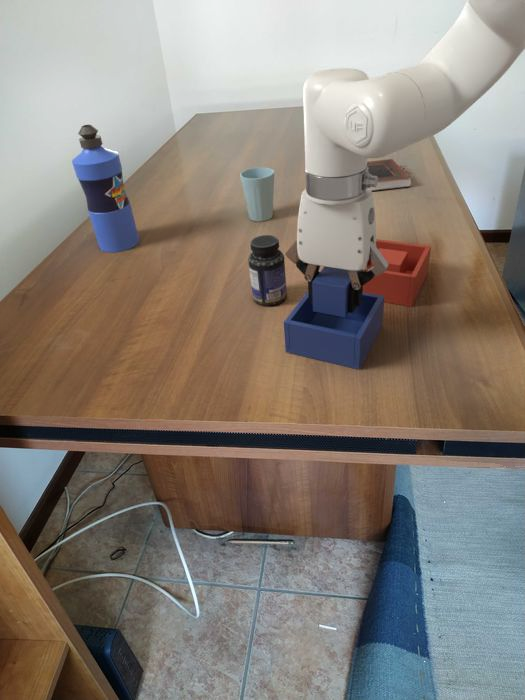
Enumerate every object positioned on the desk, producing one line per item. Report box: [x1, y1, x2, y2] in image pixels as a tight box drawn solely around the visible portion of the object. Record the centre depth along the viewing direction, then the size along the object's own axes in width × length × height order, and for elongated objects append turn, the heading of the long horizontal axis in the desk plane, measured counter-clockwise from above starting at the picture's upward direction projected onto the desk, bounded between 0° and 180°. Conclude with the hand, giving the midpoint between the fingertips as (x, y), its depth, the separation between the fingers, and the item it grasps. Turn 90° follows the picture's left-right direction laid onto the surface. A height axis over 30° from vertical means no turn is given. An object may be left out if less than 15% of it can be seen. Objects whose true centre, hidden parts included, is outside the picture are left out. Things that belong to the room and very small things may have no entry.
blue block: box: [312, 266, 351, 318], centre depth 72 cm, size 5×5×5 cm
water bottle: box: [71, 124, 140, 253], centre depth 105 cm, size 9×9×25 cm
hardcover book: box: [367, 158, 412, 192], centre depth 130 cm, size 16×2×22 cm
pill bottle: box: [247, 234, 288, 307], centre depth 85 cm, size 6×6×11 cm
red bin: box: [363, 238, 432, 308], centre depth 87 cm, size 12×12×6 cm
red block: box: [371, 248, 408, 274], centre depth 87 cm, size 5×5×5 cm
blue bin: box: [283, 291, 385, 370], centre depth 76 cm, size 12×12×6 cm
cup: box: [239, 166, 275, 223], centre depth 114 cm, size 8×8×10 cm
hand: (334, 303), depth 73 cm, fingers closed on blue block, 5 cm apart
